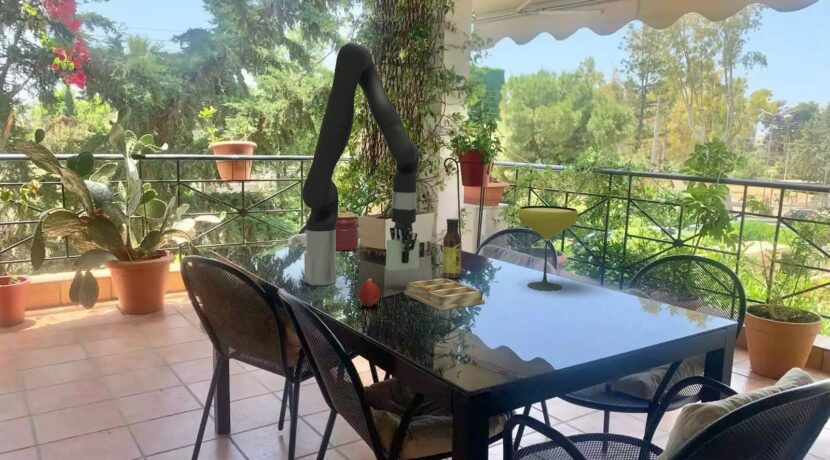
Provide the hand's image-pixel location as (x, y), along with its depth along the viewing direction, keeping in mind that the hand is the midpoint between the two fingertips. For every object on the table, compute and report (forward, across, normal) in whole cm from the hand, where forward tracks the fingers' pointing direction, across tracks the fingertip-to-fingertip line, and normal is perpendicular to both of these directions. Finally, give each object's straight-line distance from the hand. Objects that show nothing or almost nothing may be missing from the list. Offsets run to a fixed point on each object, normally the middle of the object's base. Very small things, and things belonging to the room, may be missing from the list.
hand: (402, 261), depth 191 cm
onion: (+9, +15, -19) cm, 26 cm away
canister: (+9, -72, +12) cm, 73 cm away
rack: (+8, +18, +4) cm, 20 cm away
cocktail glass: (+8, +20, +41) cm, 46 cm away
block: (+2, 0, 0) cm, 2 cm away
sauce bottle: (+8, -6, +22) cm, 24 cm away
